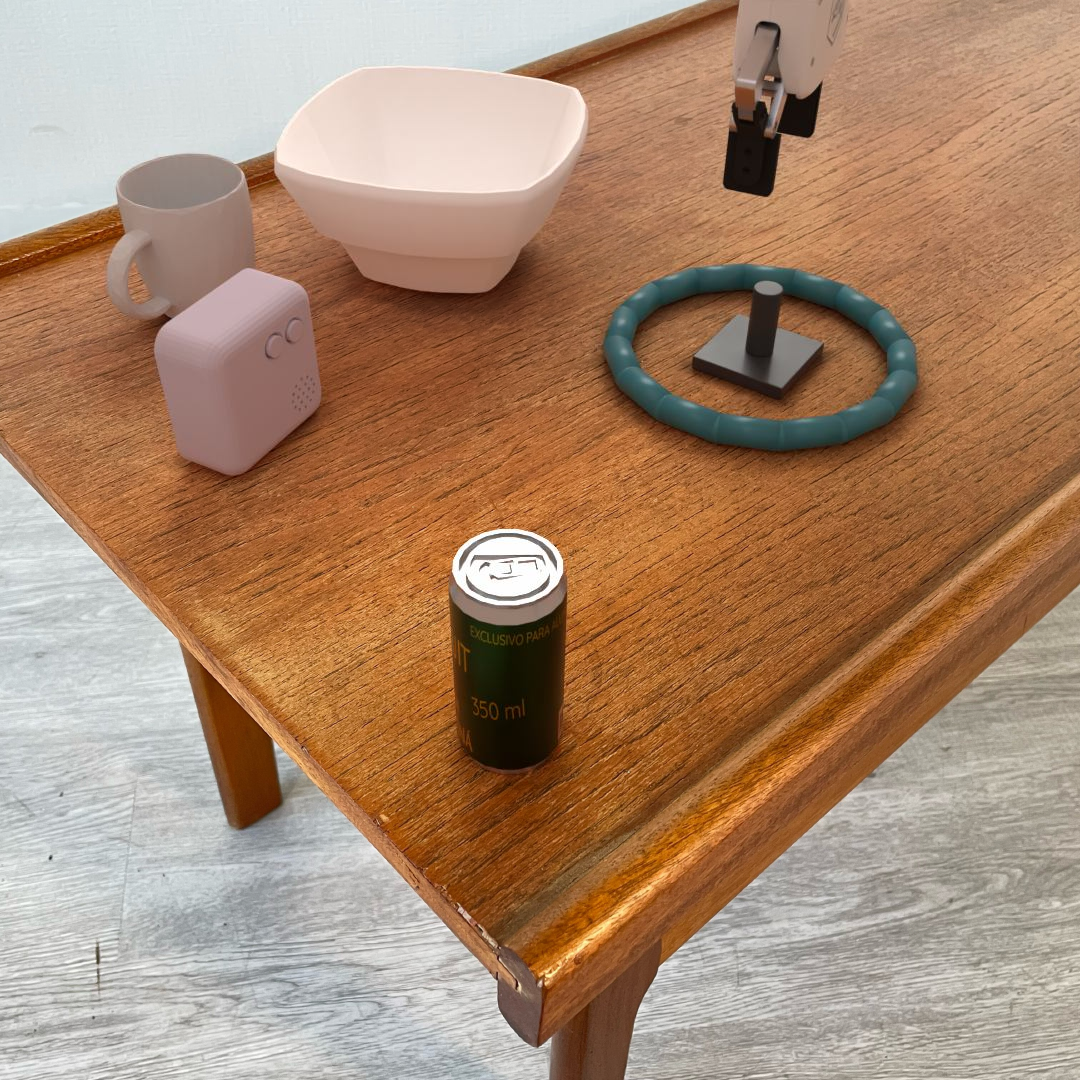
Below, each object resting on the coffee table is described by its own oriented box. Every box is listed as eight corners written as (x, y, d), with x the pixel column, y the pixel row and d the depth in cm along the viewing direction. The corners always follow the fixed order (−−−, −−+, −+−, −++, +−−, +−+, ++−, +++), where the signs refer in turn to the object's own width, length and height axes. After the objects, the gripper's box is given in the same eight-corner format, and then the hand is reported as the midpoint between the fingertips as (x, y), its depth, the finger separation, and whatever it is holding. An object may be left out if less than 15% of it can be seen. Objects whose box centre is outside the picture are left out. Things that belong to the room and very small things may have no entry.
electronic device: (240, 490, 76) (212, 356, 69) (182, 468, 77) (149, 334, 71) (333, 408, 82) (316, 278, 76) (278, 389, 84) (256, 260, 77)
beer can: (553, 690, 64) (557, 520, 56) (571, 772, 60) (578, 602, 52) (451, 702, 63) (441, 531, 55) (463, 785, 59) (453, 615, 51)
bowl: (548, 357, 87) (550, 208, 79) (259, 318, 91) (235, 172, 83) (603, 215, 103) (610, 80, 95) (357, 187, 107) (344, 54, 99)
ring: (958, 340, 89) (964, 317, 88) (836, 498, 76) (842, 473, 74) (696, 255, 98) (698, 232, 97) (545, 382, 85) (545, 358, 83)
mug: (199, 262, 97) (175, 142, 90) (289, 292, 93) (270, 169, 87) (83, 338, 88) (46, 212, 82) (177, 373, 85) (147, 245, 78)
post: (822, 354, 88) (836, 281, 84) (780, 400, 83) (793, 326, 79) (736, 324, 91) (746, 252, 86) (691, 367, 86) (699, 294, 82)
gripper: (836, -77, 62) (788, 229, 73) (908, -152, 73) (856, 123, 85) (697, -96, 64) (671, 204, 75) (788, -165, 76) (754, 104, 87)
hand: (769, 161), depth 80 cm, fingers open, 9 cm apart
